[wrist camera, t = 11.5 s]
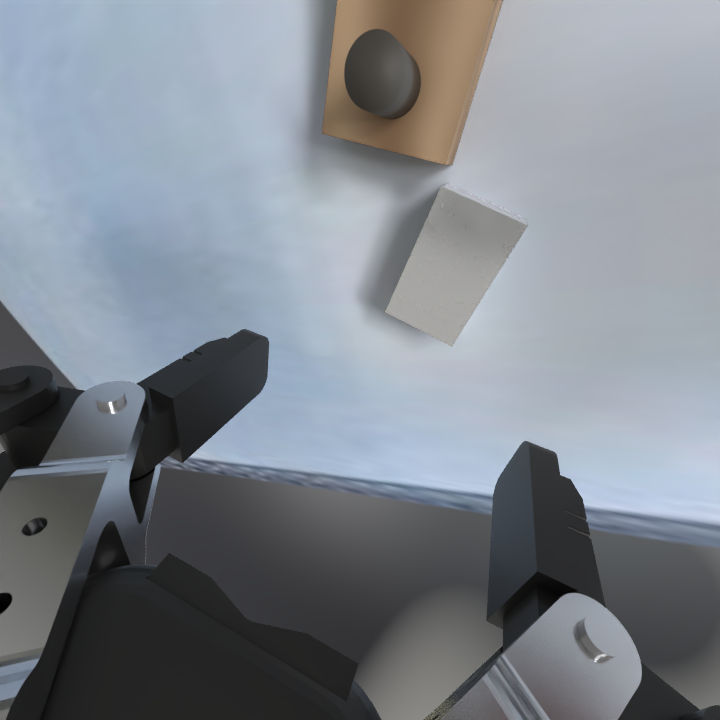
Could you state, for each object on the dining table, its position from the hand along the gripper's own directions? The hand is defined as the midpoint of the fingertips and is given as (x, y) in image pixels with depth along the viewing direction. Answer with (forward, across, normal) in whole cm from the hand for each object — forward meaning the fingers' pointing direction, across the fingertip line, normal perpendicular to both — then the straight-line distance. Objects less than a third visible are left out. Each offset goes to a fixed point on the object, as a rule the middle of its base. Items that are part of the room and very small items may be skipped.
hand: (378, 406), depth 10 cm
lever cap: (+18, 0, 0) cm, 18 cm away
